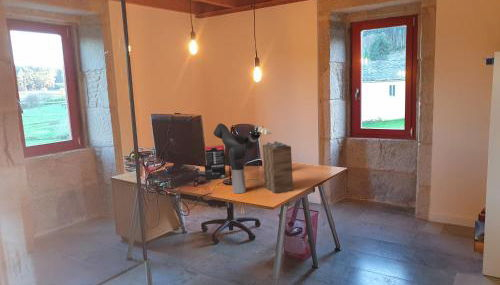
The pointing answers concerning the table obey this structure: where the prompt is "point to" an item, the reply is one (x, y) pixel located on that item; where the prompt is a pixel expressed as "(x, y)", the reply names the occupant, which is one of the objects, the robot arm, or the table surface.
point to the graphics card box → (215, 162)
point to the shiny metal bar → (263, 130)
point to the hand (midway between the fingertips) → (260, 127)
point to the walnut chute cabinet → (278, 167)
